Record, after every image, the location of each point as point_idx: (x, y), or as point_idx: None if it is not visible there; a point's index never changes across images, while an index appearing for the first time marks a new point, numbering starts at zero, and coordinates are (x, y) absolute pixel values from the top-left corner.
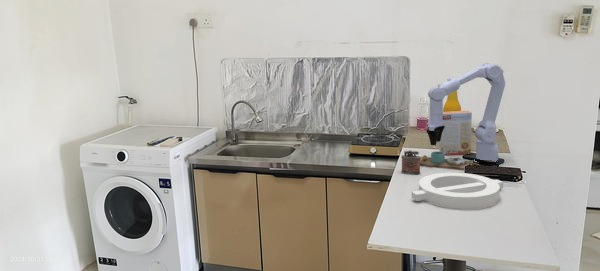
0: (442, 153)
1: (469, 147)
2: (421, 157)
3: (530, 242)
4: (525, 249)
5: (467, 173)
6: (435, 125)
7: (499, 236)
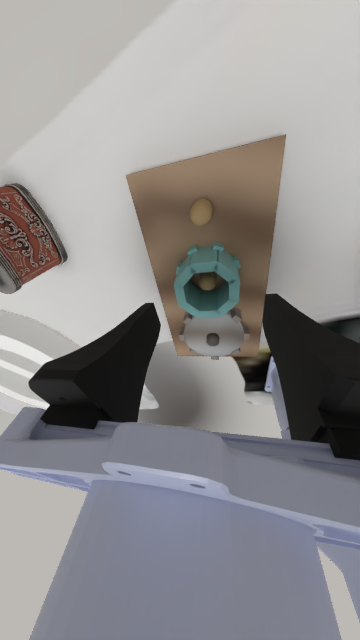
0: (209, 310)
1: None
2: (258, 153)
3: (20, 408)
4: (7, 406)
5: None
6: (72, 487)
7: (3, 396)
